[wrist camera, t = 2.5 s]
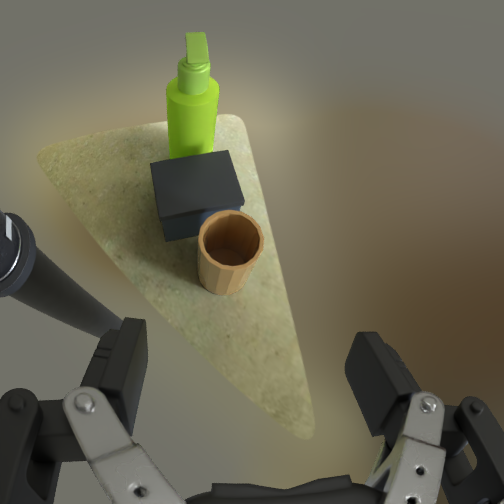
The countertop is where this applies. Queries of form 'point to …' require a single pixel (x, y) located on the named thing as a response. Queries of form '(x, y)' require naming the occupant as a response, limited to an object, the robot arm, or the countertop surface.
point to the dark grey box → (194, 191)
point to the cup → (228, 251)
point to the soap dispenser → (192, 102)
